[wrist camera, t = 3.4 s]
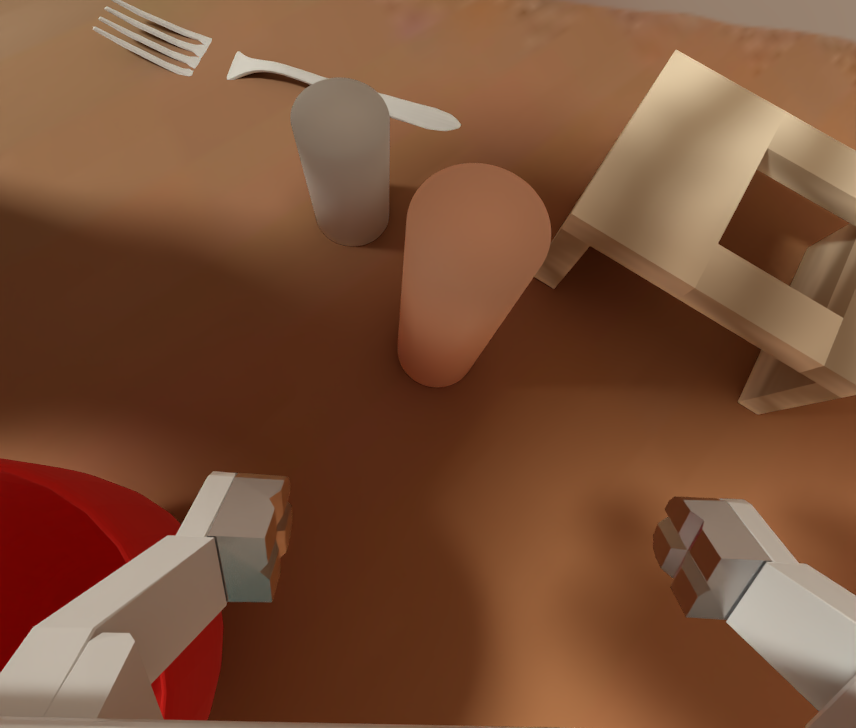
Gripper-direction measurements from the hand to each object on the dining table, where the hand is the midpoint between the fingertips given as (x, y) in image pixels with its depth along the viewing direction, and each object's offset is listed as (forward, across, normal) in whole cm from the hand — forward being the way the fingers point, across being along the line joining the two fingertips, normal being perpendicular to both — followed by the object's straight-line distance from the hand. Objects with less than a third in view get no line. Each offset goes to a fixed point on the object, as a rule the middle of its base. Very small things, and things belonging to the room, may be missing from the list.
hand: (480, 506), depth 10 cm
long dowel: (+14, 0, +4) cm, 15 cm away
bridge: (+18, -14, 0) cm, 23 cm away
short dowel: (+20, +5, -1) cm, 20 cm away
